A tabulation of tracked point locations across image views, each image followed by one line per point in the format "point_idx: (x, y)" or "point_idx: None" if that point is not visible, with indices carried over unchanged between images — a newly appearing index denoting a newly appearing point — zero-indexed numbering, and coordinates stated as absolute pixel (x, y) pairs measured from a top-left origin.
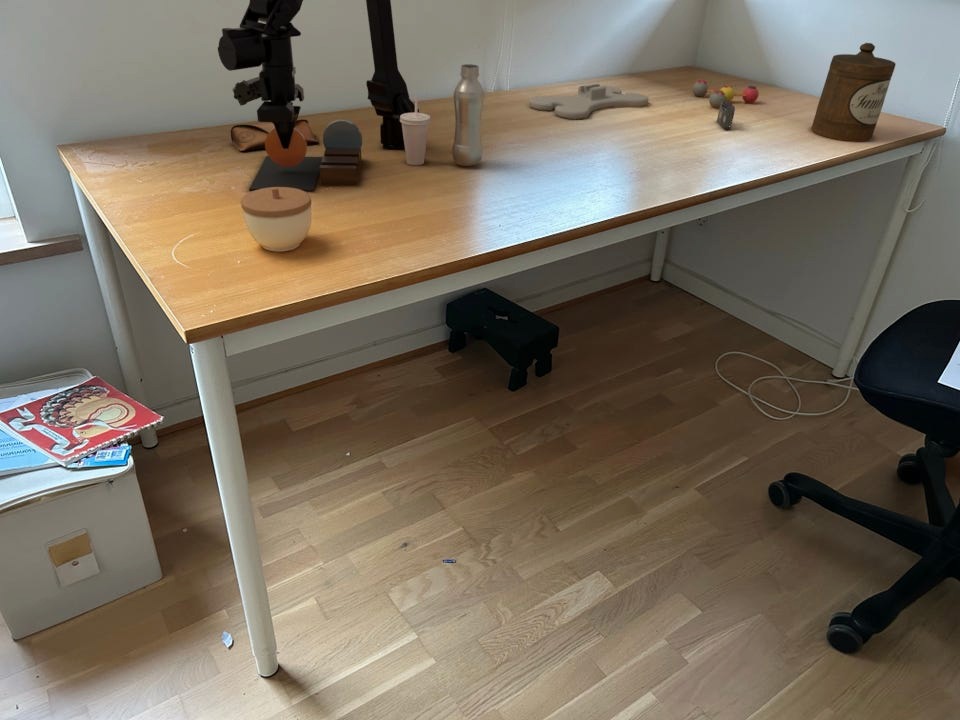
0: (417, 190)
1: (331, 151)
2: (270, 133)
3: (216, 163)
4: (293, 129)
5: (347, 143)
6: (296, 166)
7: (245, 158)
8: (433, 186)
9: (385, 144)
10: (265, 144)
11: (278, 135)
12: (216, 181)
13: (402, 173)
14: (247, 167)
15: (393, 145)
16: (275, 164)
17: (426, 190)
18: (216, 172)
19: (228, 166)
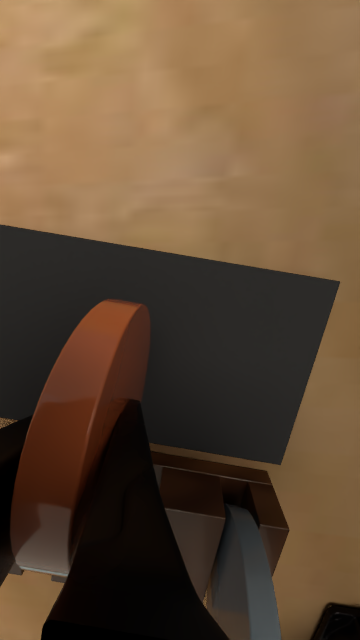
0: (9, 607)
1: (178, 531)
2: (52, 374)
3: (314, 56)
4: (6, 571)
5: (217, 602)
6: (193, 381)
7: (353, 194)
8: (35, 635)
9: (350, 622)
10: (97, 305)
11: (4, 429)
12: (74, 79)
13: None
14: (233, 206)
15: (331, 637)
16: (228, 314)
17: (10, 621)
18: (187, 68)
19: (260, 121)
